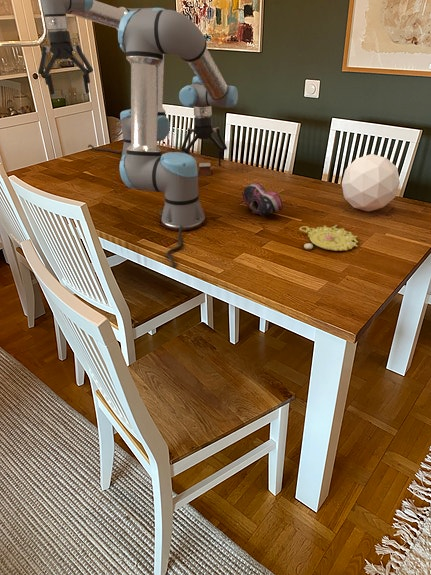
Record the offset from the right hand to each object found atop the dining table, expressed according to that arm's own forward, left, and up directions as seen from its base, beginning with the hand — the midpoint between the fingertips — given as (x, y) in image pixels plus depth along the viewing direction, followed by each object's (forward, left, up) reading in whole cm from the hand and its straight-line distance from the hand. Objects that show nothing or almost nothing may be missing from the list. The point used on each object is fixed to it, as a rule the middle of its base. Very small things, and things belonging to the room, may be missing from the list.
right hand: (204, 166), depth 198 cm
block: (0, 0, -3) cm, 4 cm away
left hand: (-2, +52, +33) cm, 62 cm away
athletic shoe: (-47, -13, -3) cm, 49 cm away
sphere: (-53, -53, -3) cm, 75 cm away
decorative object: (-74, -30, -3) cm, 80 cm away
